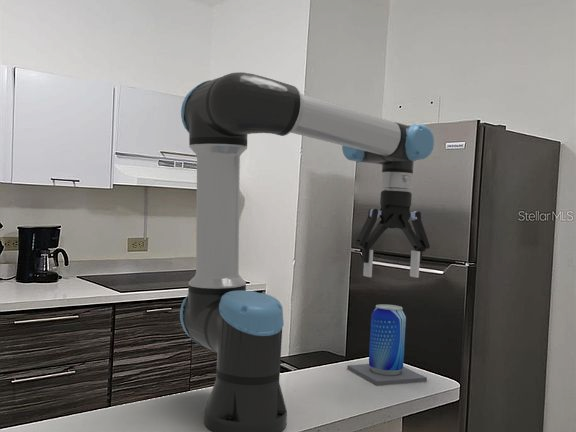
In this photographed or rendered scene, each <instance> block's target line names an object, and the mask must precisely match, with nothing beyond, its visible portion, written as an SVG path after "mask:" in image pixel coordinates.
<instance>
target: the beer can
mask: <svg viewBox="0 0 576 432" xmlns="http://www.w3.org/2000/svg"><path fill="white" fill-rule="evenodd" d="M403 309H404V308H403V307H402V306H399V305H395V304H376V305H375V308H374V309H373V311H372V313H371V318H370V335H369V353H368V354H369V355H368V364H369V366H370V367H371V370H372V371H373V372H375V373H377V374H382V375H397V374H399V373H400V371H401V370H402V369H403V367H404V361H405V360H404V357H405V340H406V326H407V325H406V324H407V316H406V314H405V312H404V310H403Z"/></svg>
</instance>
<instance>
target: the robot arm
mask: <svg viewBox="0 0 576 432" xmlns="http://www.w3.org/2000/svg"><path fill="white" fill-rule="evenodd" d="M180 117H181V121H182V122H181V123H182V125H183V127H184V129H185V130H186V131H187V132H188V140H189V145H188V147H189V149H190V150H192V152H193V153H194V154H195V155H196V227H195V228H196V230H195V231H196V235H195V237H196V239H195V240H196V242H195V243H196V244H195V247H196V248H195V249H196V251H195V253H196V254H195V255H196V256H195V257H196V258H195V261H196V262H195V267H196V268H195V270H196V271H195V275H194V276H193V277H192V278H191V279H190V280H189V281H188V286H187V289H188V290H187V291H188V292H187V296H186V297H185V298H184V299H183V300H182V303H181V305H180V309H179V310H180V311H179V320H180V324H181V326H182V329H183V331H184V332H185V334H186V335H187V336H188V337H189V338H190V339H191V340H192V341H194V342H195V344H197V345H199V346H201V347H202V348H206V349H208V350H210V351H212V352H214V353H215V354H217V356H216V375H215V382H214V384H213V387H212V389H211V392H210V395H209V398H208V400H207V403H206V406H205V408H204V409H205V410H204V418H203V420H204V421H203V422H204V425H205V427H207V429H209V430H211V431H212V432H282V431H284V429H285V428H286V427H287V424H288V423H287V420H288V411H287V406H286V403H285V398H284V396H283V392H282V391H283V390H282V387H281V384H280V374H281V373H280V372H281V361H282V360H281V356H282V340H283V327H284V324H285V323H284V312H283V306H282V305H283V304H282V303H281V302H280V300H279V299H277V298H275V296H272V295H269V294H267V293H263V292H257V291H255V290H254V291H253V290H247V282H246V280H245V279H243V277H241V276H240V273H239V270H240V269H239V260H240V259H239V257H240V254H239V250H240V249H239V247H240V244H239V243H240V240H239V239H240V237H239V236H240V168H241V167H240V166H241V165H240V162H241V161H240V160H241V159H240V158H241V155H243V153H245V151H246V150H248V135H251V134H270V135H271V134H272V135H277V136H281V137H285V136H288V135H289V134H290V133H292V134H294V135H295V134H296V135H299V136H302V137H303V136H304V137H308V138H311V139H315V140H319V141H324V142H329V143H332V144H336V145H340V146H342V147H341V151H342V154H343V156H344V157H345V158H346V159H347V160H348V161H352V162H356V163H367V164H377V165H381V181H380V188H381V189H382V190H381V192H380V200H379V202H380V203H379V204H380V208H379V209H380V210H378V208H369V209H368V213H367V218H366V220H365V223H364V224H363V226H362V228H361V230H360V232H359V234H358V236H357V237H356V240H355V242H354V245H355V246H356V247H359V248H360V249H361V258H360V259H361V260H360V261H361V263H363V272H362V275H363V277H367V278H372V277H373V265H374V264H373V259H374V250H373V249H372V247H373V246H374V245H375V243H376V242H377V241H378V240H379V239H380V237H381V236H382V235H383V233H384V232H385V231H386V230H388V229H399V230H401V231H402V232H403V234H404V236H405V237H406V238H407V240H408V242H409V243H410V244H411V246H412V248H413V249H414V250H411V251H410V263H409V264H410V267H409V277H412V278H417V279H418V278H419V276H420V265H421V264H422V262H423V252H426V250H427V249H430V243H429V240H428V236H427V233H426V231H425V228H424V225H423V221H422V212H421V211H415V210H413V211H411V209H410V208H411V206H412V199H413V198H412V196H413V194H412V192H411V190H412V189H413V178H414V177H413V176H414V163H415V162H416V161H421V160H425V159H427V158H428V157H429V156H430V155H431V154H432V152H433V151H434V147H435V144H434V143H435V137H434V133H433V132H432V130H431V129H430V127H428V126H427V125H425V124H415V123H414V124H411V125H407V124H403V123H400V122H396V121H392V120H388V119H386V118H382V117H379V116H376V115H373V114H369V113H365V112H362V111H359V110H357V109H356V110H355V109H352V108H349V107H346V106H342V105H339V104H335V103H332V102H329V101H326V100H322V99H319V98H315V97H313V96H309V95H306V94H303V93H301V91H300V90H299V88H298V87H297V86H295V85H292V84H289V83H286V82H282V81H278V80H275V79H273V78H272V79H271V78H269V77H266V76H261V75H258V74H254V73H248V72H241V71H240V72H239V71H237V72H230V73H228V74H225V75H222V76H220V77H217V78H214V79H212V80H211V79H209V80H206V81H202V82H200V83H199V84H198V85H196V86H195V87H193V88H192V89H191V90H189V91H188V93H187V94H186V95H185V97H184V100H183V101H182V105H181V109H180ZM378 218H380V220H379V221H378V223H377V224H376V222H377V220H378ZM409 220H411V223H410V222H409ZM375 224H376V227H375V228H374V226H375ZM411 224H412V225H411ZM373 228H374V229H373ZM412 228H413V229H412Z"/></svg>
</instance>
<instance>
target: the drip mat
mask: <svg viewBox="0 0 576 432" xmlns="http://www.w3.org/2000/svg"><path fill="white" fill-rule="evenodd" d="M346 368H347V369H346V370H347V371H350V372H352V373H354V374H356V375H357V376H359V377H360V378H362V379H364V380H365V381H367V382H369V383H371V384H373V385H375V386H376V387H378V386H390V384H391V385H401V384H403V383H404V384H413V383H414V384H415V383H427V381H428V378H427V376H424V375H422V374H420V373H419V372H416V371H414V370H412V369H409V368H407V367H406V366H403V369H402V370H401V371H400V373H399V374H397V375H382V374H377V373H375V372H373V371H372V370H371V367H370V366H369V363H361V364H348V365H347V366H346Z"/></svg>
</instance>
